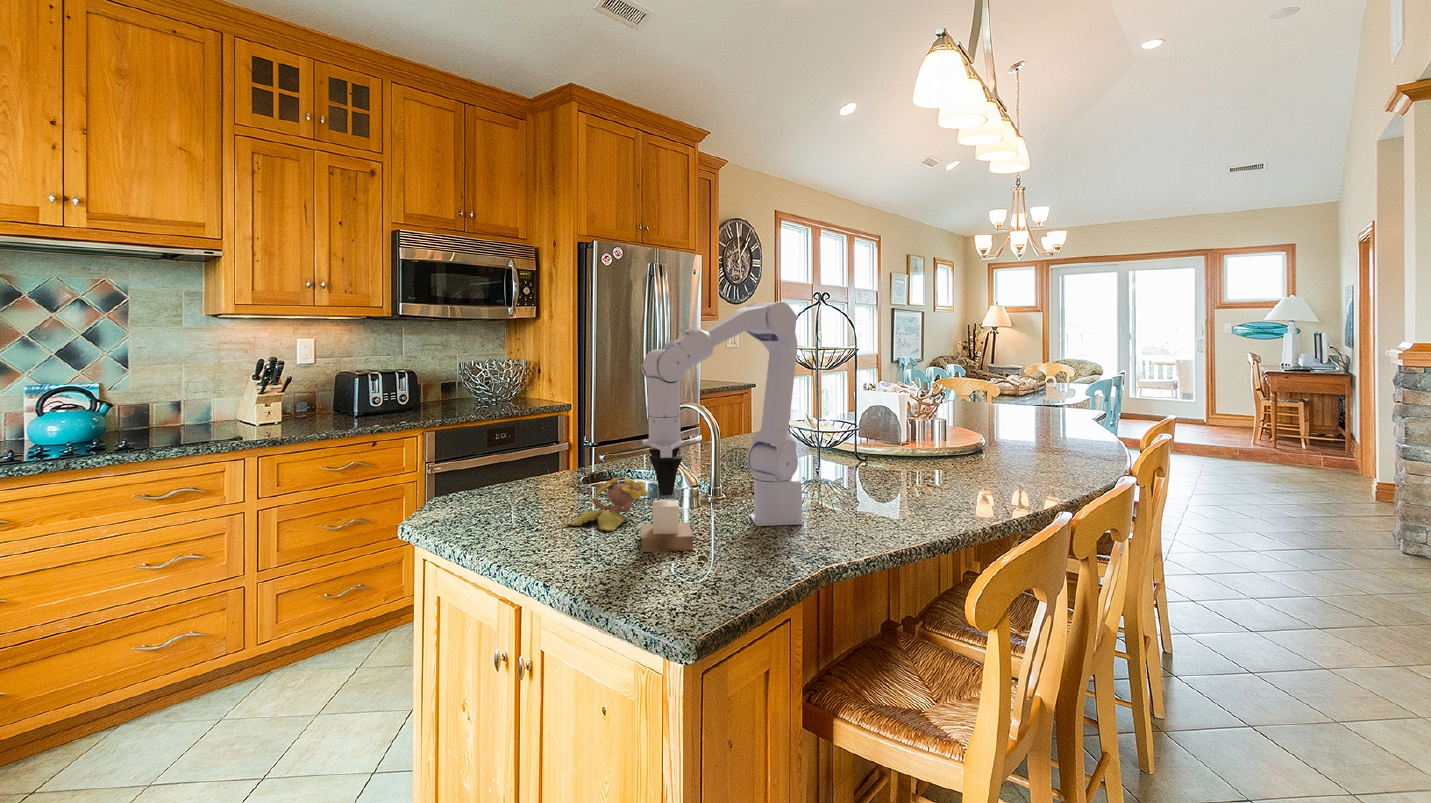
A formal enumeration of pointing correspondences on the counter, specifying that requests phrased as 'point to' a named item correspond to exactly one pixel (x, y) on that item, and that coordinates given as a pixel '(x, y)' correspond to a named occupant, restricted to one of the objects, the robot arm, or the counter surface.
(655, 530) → the ceramic cube
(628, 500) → the figurine
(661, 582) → the counter surface
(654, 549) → the walnut block
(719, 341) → the robot arm
